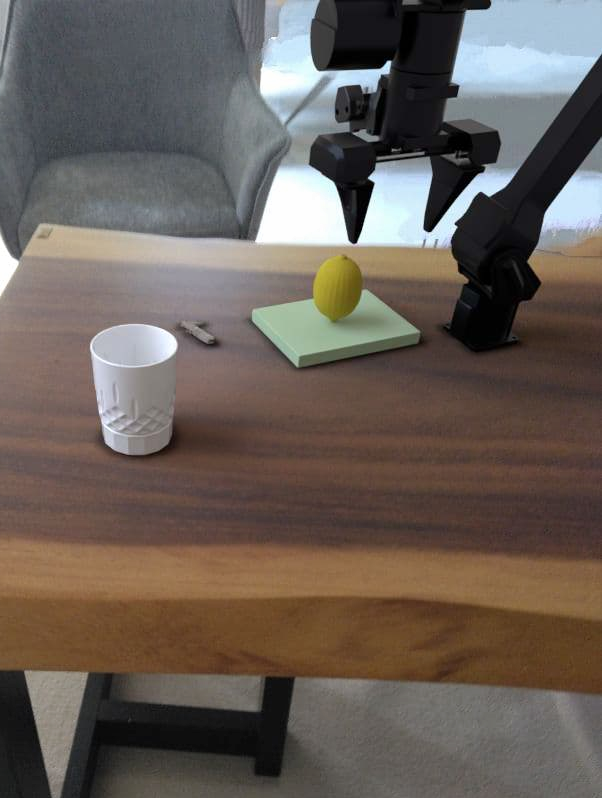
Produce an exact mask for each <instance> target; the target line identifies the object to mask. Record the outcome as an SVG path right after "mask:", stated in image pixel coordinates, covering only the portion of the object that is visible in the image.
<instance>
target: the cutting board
mask: <svg viewBox="0 0 602 798" xmlns="http://www.w3.org/2000/svg"><path fill="white" fill-rule="evenodd" d="M251 312H252V313H251V321H252V323H254V324H255V326H256V327H257V328H258V329H259V330H260V331H261V332H262V333H263V334H264V335H265V336H266V337H267V338H268V340H270V341H271V343H273V345H275V346H276V347H277V348H278V349H279V350H280V352H282V354H284V356H286V357H287V358H288V359H289V361H291V363H292V364H294V366H295V367H296V368H298V369H299V368H304V367H309V366H314V365H318V364H324V363H329V362H334V361H339V360H344V359H348V358H353V357H354V358H355V357H357V356H362V355H363V356H364V355H368V354H372V353H378V352H383V351H387V350H392V349H397V348H403V347H407V346H411V345H417V344H419V342H420V337H421V331H420V330H419V329H418V328H416V327H415V326H414V325H413V324H412V323H410V322H409V321H408V320H406V319H405V318H404V317H402V316H401V315H400V314H399V313H397V312H396V311H395V310H393V309H392V308H391V307H390V306H389V305H387V304H386V303H384V301H382V300H381V299H379V298H378V297H377V296H376V295H374V294H373V292H370V290H368V289H366V288H365V289H362V294H361V298H360V301H359V303H358V305H357V307H356V308H355V309H354V311H353V312H352V313H351V314H349V315H348V316H346V317H343V318H339V319H338V320H336V321H334V322H333V321H330V319H329V318H328V317H326V316H324V315H323V314H321V313H320V312H319V310H318V309H317V307H316V305H315V303H314V298H310V299H309V298H308V299H303V300H297V301H293V302H287V303H282V304H275V305H269V306H265V307H259V308H254V309H252V311H251Z"/></svg>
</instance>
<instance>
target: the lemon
mask: <svg viewBox="0 0 602 798" xmlns="http://www.w3.org/2000/svg"><path fill="white" fill-rule="evenodd" d="M362 274H363V273H362V271H361V268H360V266H359V265H358V264H357V262H356V261H354V259H352V258H350V257H348V256H347V255H346V254H344V253H340V254H338V255H337V256H333V257H331V258H328V259H327V260H326V261H325V262H323V263H322V265H321V266H319V269H318V271H317V273H316V275H315V278H314V281H313V287H312V297H313V299H314V303H315V305H316V307H317V309H318V310H319V312H320V313H321V314H323V315H324V316H326V317H328V318H329V319H330V321H333V322H334V321H336V320H338V319H339V318H343V317H346V316H348V315H349V314H351V313H352V312H353V311H354V309H355V308H356V307H357V305H358V303H359V301H360V298H361V294H362V290H363V275H362Z"/></svg>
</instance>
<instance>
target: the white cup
mask: <svg viewBox="0 0 602 798" xmlns="http://www.w3.org/2000/svg"><path fill="white" fill-rule="evenodd" d="M178 343H179V342H178V339H177V338H176V337H175V336H174V335H173V334H172V333H171V332H169V331H168V330H166V329H164V328H161V327H158V326H154V325H150V324H143V323H127V324H126V323H125V324H119V325H115V326H112V327H108V328H106V329H104V330H102V331H100V332H99V333H97V334H96V335H94V336H93V338H92V339H91V341H90V344H89V347H90V348H89V349H90V356H91V364H92V372H93V380H94V381H93V383H94V389H95V394H96V401H97V408H98V415H99V418H100V421H101V423H100V424H101V430H102V436H103V439H104V444H105V445H106V446H108V447H109V448H110V449H112V450H113V451H114V452H117V453H121V454H124V455H127V456H146V455H150V454H153V453H157V452H159V451H161V450H162V449H163V448H165V447H167V446H168V445H169V443H170V440H171V438H172V436H173V423H174V422H173V421H174V419H173V418H174V415H175V414H174V413H175V400H176V392H177V391H176V390H177V374H178V373H177V371H178V354H179V353H178V351H179V344H178Z"/></svg>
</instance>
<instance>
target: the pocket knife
mask: <svg viewBox="0 0 602 798" xmlns="http://www.w3.org/2000/svg"><path fill="white" fill-rule="evenodd" d="M180 323H181V325H180V326H181V327H183V328H184V329H186V333H187V334H189V335H193V336H194V337H196V338H197V339H199V340H200V341H201V342H204V343H205V344H209V345H211V344H214V343H215V337H214V336H213V335H211V334H210V333H208V332H206V331H205V330H204V329H202V328H200V327H199V326H202V325H204V324H205V322H203V321H192V320H191V321H190V320H186V319H185V320H182V321H181V322H180Z"/></svg>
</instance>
